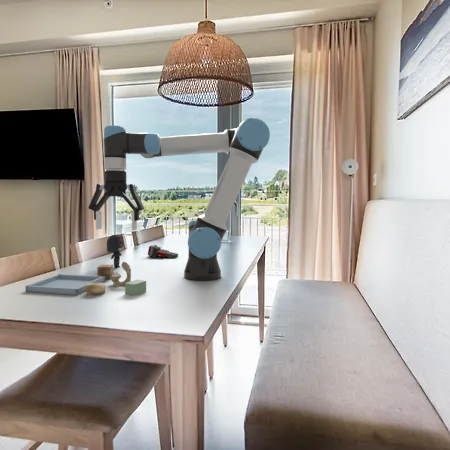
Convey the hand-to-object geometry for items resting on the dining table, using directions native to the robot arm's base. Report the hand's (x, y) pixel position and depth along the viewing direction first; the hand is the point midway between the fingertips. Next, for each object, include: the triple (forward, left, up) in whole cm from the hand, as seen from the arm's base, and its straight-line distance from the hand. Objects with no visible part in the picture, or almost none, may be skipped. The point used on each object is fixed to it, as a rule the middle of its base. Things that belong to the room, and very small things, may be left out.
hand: (116, 229), depth 134 cm
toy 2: (+2, -60, -21) cm, 64 cm away
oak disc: (+2, +11, -21) cm, 24 cm away
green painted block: (-11, +8, -21) cm, 25 cm away
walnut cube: (+9, -10, -21) cm, 25 cm away
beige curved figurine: (-1, 0, -21) cm, 21 cm away
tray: (+16, +5, -21) cm, 27 cm away
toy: (+14, -30, -21) cm, 39 cm away
